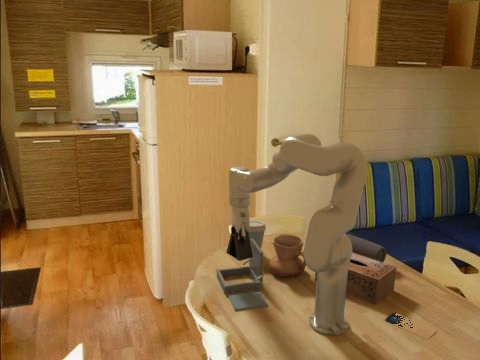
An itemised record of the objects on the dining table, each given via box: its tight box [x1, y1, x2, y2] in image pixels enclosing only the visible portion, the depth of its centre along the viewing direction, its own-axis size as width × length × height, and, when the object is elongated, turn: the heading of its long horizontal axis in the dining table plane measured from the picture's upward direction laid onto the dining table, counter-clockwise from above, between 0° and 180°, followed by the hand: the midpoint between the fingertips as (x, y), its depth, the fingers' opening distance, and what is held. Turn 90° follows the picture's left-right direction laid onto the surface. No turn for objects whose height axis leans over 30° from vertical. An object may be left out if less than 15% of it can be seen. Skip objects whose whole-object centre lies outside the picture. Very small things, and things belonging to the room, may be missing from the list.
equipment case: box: [216, 238, 265, 295], centre depth 173 cm, size 16×15×15 cm
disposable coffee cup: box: [248, 220, 267, 250], centre depth 199 cm, size 11×11×15 cm
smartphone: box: [384, 311, 413, 328], centre depth 149 cm, size 8×1×15 cm
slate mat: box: [227, 290, 269, 312], centre depth 162 cm, size 10×12×1 cm
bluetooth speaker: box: [345, 233, 387, 263], centre depth 196 cm, size 23×9×10 cm, turn 42°
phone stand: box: [226, 226, 253, 261], centre depth 170 cm, size 9×6×12 cm, turn 35°
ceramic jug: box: [268, 233, 307, 278], centre depth 183 cm, size 18×14×14 cm
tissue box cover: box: [314, 253, 397, 306], centre depth 173 cm, size 26×14×10 cm, turn 47°
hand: (239, 246), depth 171 cm, fingers closed on phone stand, 2 cm apart
